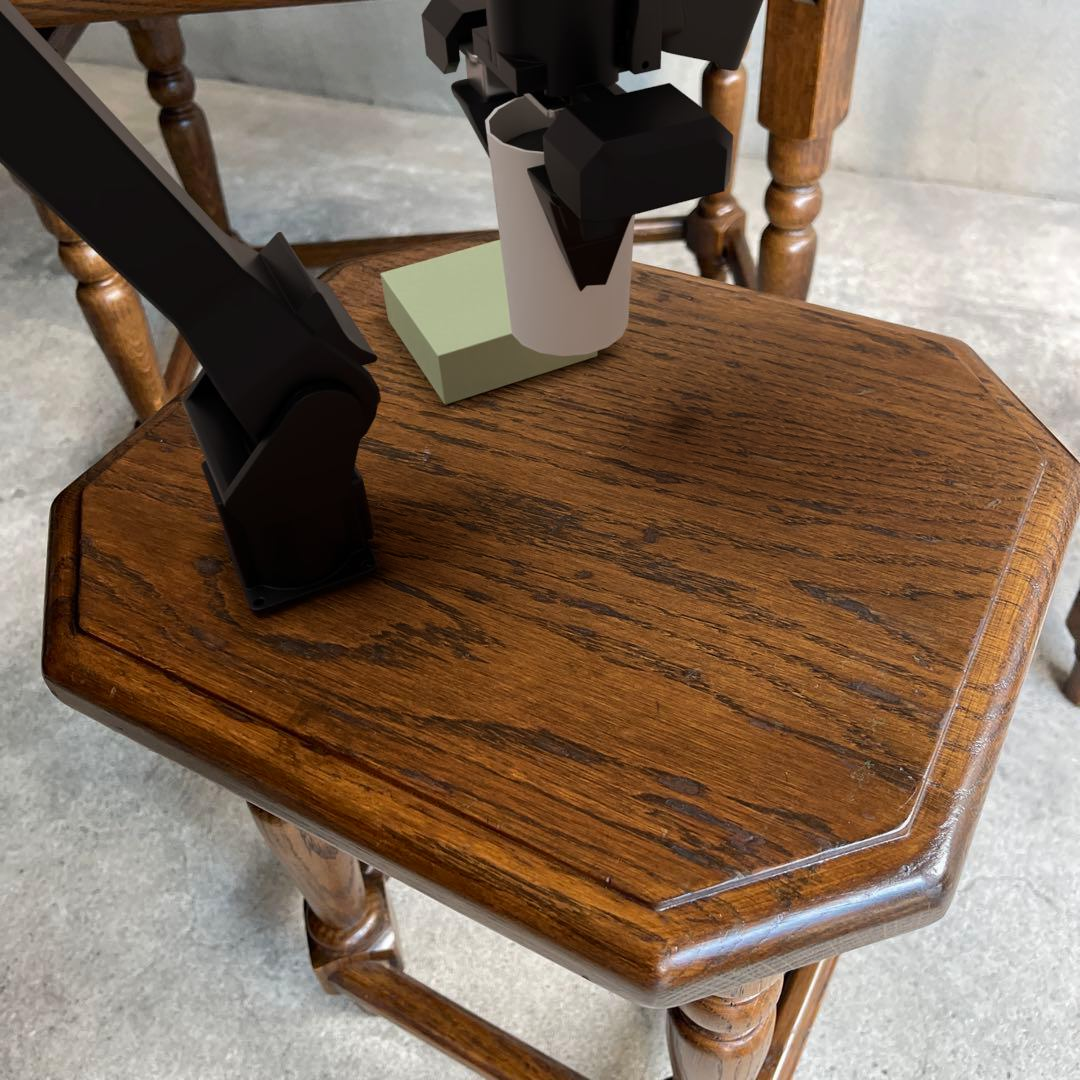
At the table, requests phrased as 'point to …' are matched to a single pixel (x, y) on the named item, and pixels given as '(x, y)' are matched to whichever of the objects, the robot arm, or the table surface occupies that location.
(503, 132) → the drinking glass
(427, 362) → the riser block
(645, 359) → the table surface
